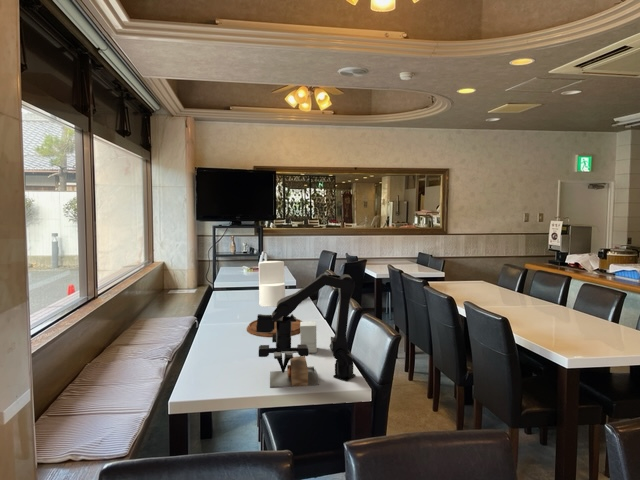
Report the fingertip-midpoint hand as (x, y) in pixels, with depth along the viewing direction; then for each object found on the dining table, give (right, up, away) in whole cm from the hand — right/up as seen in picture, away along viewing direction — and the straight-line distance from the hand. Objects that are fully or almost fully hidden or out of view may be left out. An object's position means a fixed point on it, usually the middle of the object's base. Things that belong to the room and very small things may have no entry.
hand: (283, 372), depth 160 cm
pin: (+7, -2, +1) cm, 7 cm away
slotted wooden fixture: (+4, -3, +1) cm, 5 cm away
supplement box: (+9, 0, +32) cm, 33 cm away
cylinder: (-18, +7, +122) cm, 123 cm away
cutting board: (-9, +2, +67) cm, 67 cm away
